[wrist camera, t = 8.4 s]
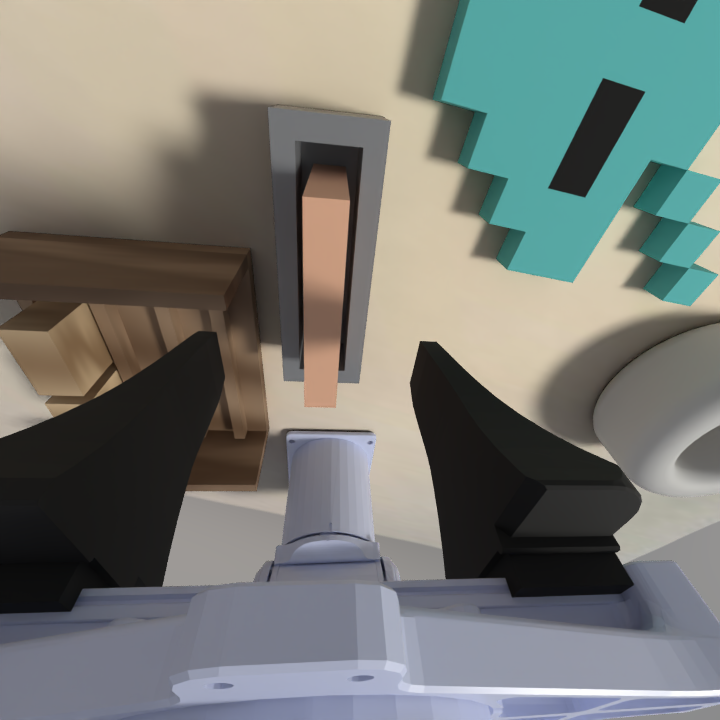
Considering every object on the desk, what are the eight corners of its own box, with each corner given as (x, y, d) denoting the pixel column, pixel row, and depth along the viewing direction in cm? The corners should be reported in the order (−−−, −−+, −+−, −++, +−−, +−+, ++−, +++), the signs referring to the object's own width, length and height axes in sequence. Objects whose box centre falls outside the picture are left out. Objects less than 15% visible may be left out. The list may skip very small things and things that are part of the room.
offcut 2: (141, 408, 26) (114, 451, 23) (108, 408, 26) (76, 451, 23) (121, 363, 23) (88, 404, 20) (84, 361, 23) (44, 403, 20)
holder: (357, 349, 25) (360, 383, 22) (288, 346, 25) (282, 380, 22) (383, 116, 17) (393, 121, 14) (278, 104, 16) (265, 106, 13)
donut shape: (778, 274, 23) (906, 326, 18) (780, 392, 31) (871, 452, 26) (563, 383, 29) (614, 448, 23) (610, 461, 36) (656, 523, 31)
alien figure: (1078, -211, 12) (603, -541, 9) (1202, -262, 10) (669, -700, 7) (664, 290, 24) (393, 234, 21) (690, 306, 22) (398, 248, 19)
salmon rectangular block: (335, 333, 23) (335, 407, 18) (312, 332, 23) (304, 406, 17) (345, 166, 17) (349, 200, 12) (313, 163, 17) (302, 196, 11)
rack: (269, 428, 30) (256, 491, 25) (111, 425, 28) (66, 490, 24) (250, 248, 20) (223, 295, 15) (9, 231, 19) (-102, 276, 14)
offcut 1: (118, 355, 23) (83, 396, 20) (80, 353, 23) (39, 394, 20) (92, 294, 20) (47, 331, 17) (49, 292, 20) (-5, 329, 17)
